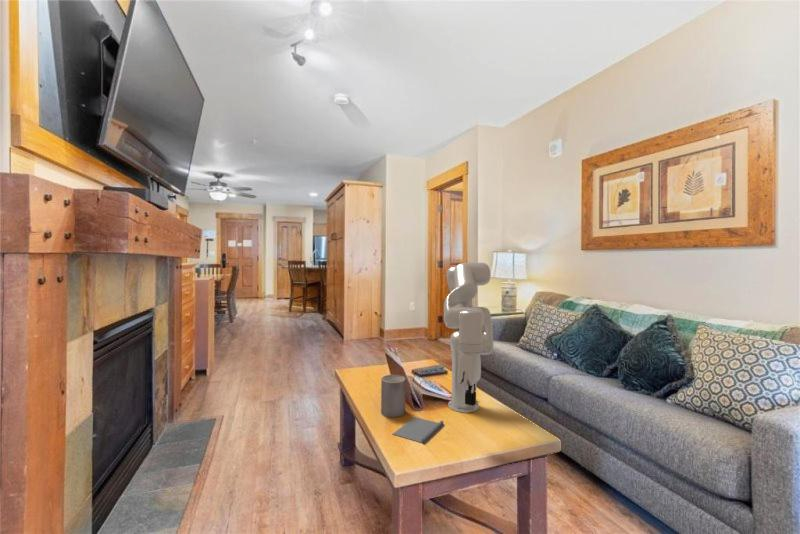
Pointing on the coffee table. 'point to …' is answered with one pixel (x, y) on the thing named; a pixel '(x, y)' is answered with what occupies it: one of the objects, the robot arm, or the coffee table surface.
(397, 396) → the pillar candle
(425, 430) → the slate mat
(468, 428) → the coffee table surface
